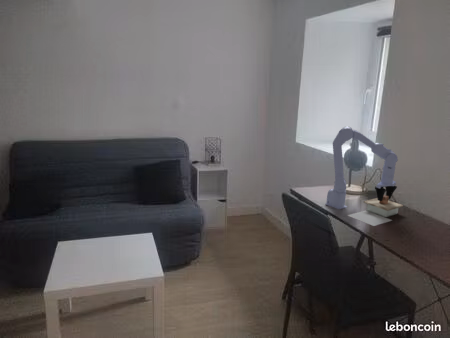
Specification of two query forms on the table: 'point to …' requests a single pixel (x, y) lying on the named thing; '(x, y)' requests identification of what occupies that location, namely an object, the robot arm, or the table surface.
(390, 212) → the open box
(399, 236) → the table surface
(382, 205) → the lid
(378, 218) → the mat
